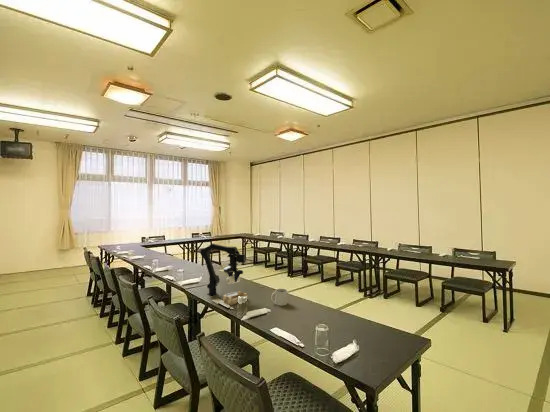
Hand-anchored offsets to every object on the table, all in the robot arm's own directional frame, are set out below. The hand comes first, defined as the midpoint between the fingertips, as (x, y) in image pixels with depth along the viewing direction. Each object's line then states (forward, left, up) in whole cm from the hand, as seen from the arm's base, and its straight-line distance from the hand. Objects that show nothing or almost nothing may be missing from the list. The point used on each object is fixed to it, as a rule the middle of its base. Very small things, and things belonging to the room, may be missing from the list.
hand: (233, 281), depth 224 cm
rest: (-1, 0, -12) cm, 12 cm away
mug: (+39, +14, -12) cm, 43 cm away
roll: (0, 0, +2) cm, 2 cm away
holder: (+10, -6, -12) cm, 17 cm away
